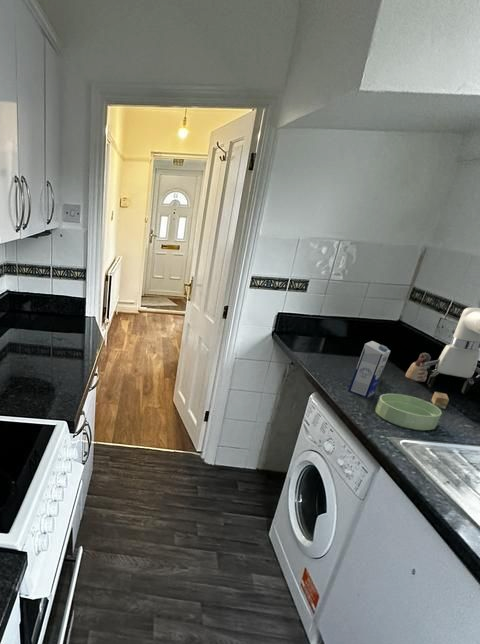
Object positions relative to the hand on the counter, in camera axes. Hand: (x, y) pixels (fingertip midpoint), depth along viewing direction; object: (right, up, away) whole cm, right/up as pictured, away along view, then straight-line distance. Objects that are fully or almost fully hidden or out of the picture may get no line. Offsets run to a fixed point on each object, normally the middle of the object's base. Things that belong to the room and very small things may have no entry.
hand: (446, 389), depth 149 cm
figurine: (+9, +4, +26) cm, 28 cm away
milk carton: (-25, -2, +9) cm, 27 cm away
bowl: (-22, -10, -9) cm, 26 cm away
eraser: (0, -6, +3) cm, 7 cm away
